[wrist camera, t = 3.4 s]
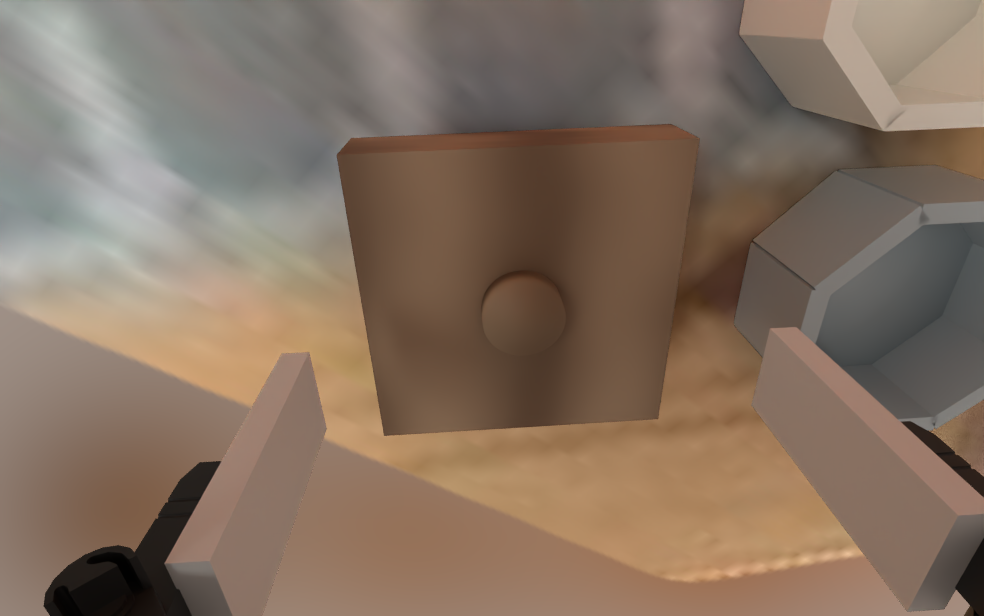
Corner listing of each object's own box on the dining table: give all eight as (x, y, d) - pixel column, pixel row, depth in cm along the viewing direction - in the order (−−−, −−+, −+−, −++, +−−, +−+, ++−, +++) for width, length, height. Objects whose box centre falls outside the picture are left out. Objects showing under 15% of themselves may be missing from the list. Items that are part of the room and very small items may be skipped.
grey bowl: (722, 376, 29) (769, 440, 25) (765, 172, 24) (835, 208, 19) (920, 364, 29) (1002, 425, 25) (1006, 161, 24) (1129, 194, 20)
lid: (391, 396, 23) (380, 453, 20) (351, 138, 18) (329, 162, 15) (639, 381, 24) (666, 435, 21) (671, 124, 19) (713, 145, 15)
